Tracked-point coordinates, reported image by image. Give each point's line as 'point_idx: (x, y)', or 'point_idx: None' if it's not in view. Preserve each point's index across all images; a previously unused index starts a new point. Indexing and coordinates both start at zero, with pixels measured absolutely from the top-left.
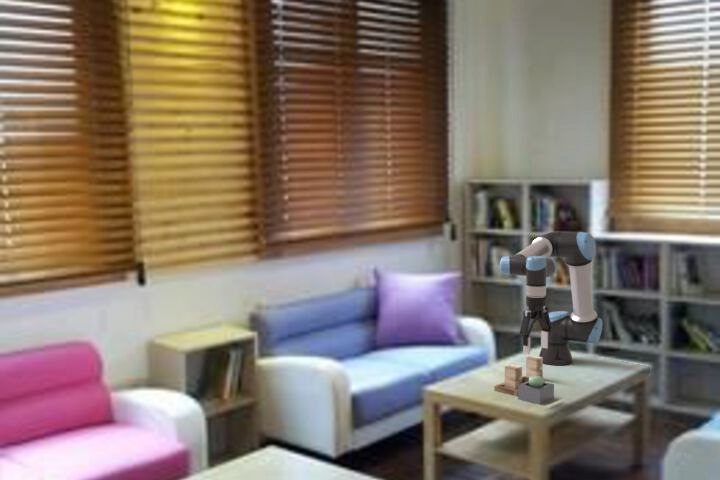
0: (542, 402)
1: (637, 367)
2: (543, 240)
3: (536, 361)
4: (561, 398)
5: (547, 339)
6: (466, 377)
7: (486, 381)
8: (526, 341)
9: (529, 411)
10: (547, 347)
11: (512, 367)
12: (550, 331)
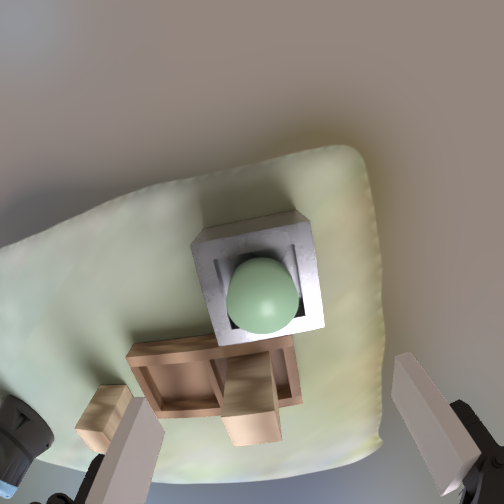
0: (281, 215)
1: None
2: None
3: (103, 427)
4: (153, 241)
5: (113, 450)
6: (249, 476)
7: (232, 450)
8: (477, 427)
9: (350, 206)
10: (134, 401)
11: (266, 425)
12: (57, 493)
